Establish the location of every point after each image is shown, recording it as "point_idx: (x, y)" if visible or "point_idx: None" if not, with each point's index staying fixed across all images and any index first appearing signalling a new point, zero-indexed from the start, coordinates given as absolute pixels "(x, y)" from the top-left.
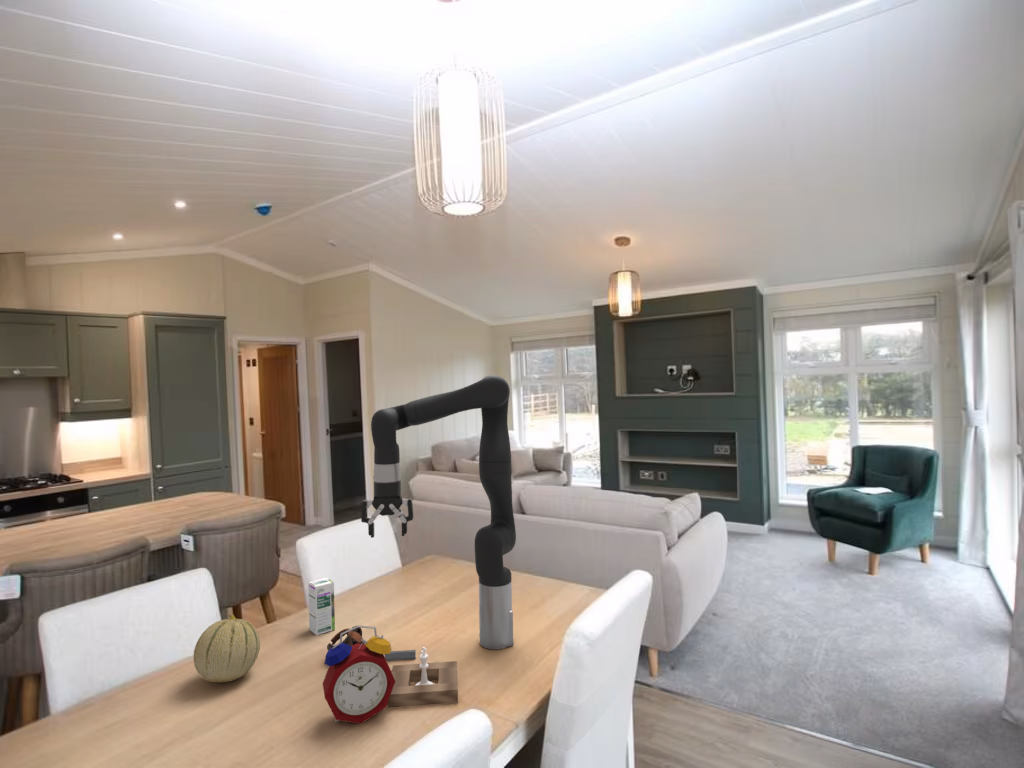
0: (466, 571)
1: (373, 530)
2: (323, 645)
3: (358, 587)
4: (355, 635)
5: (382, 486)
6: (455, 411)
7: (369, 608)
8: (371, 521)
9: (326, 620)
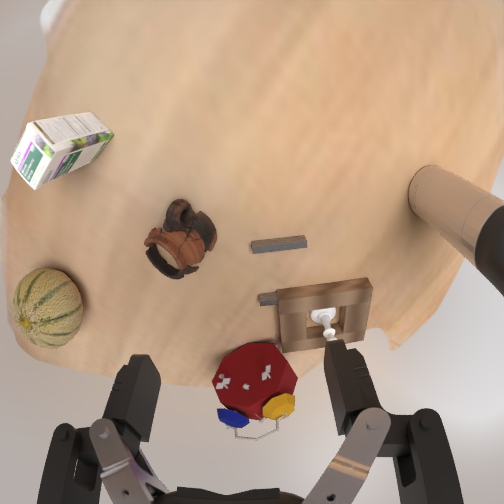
0: None
1: (150, 404)
2: (122, 195)
3: None
4: (191, 257)
5: None
6: None
7: (152, 24)
8: (137, 460)
9: (93, 151)
